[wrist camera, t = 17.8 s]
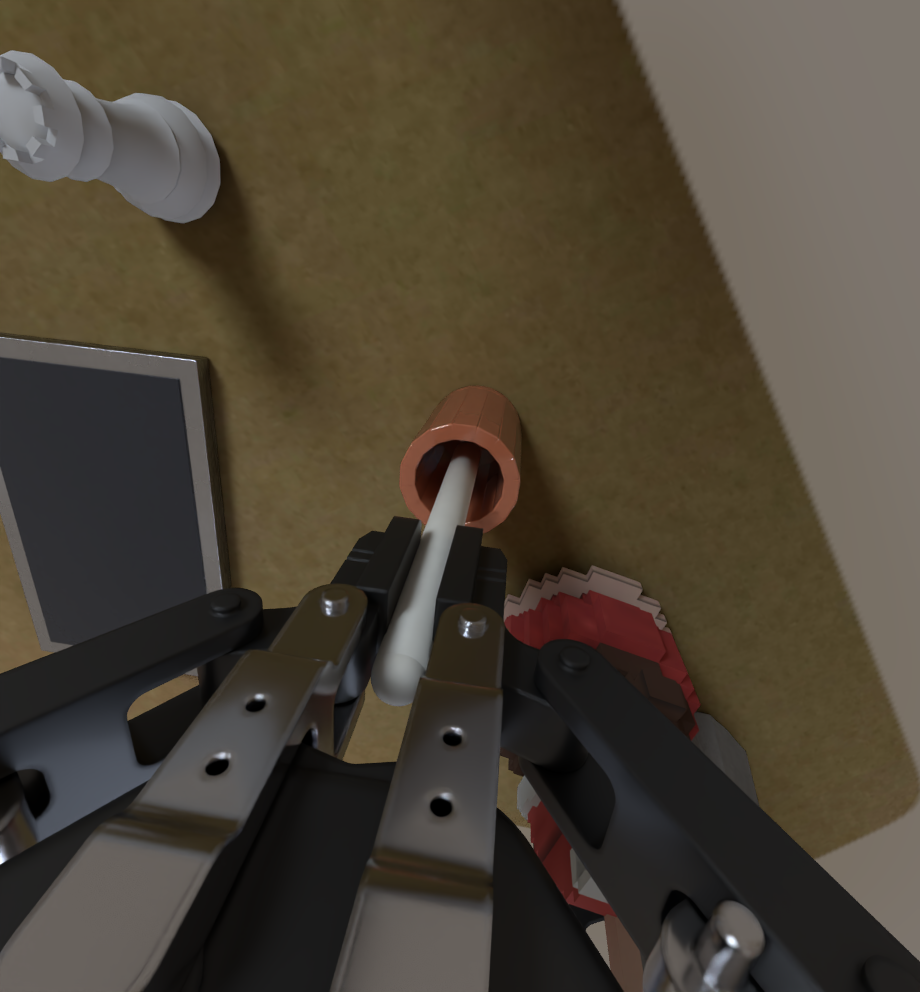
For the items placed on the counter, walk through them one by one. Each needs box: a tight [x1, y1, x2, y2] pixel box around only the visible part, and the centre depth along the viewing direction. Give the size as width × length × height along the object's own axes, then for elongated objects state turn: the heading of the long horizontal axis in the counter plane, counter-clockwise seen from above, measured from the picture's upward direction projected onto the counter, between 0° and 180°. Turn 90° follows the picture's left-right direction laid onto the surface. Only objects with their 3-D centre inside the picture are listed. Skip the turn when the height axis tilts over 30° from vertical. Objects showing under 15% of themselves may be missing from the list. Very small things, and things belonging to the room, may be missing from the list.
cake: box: [500, 565, 701, 992], centre depth 21 cm, size 11×9×18 cm
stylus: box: [371, 441, 481, 706], centre depth 15 cm, size 1×1×13 cm
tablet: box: [0, 333, 232, 676], centre depth 29 cm, size 20×13×1 cm, turn 175°
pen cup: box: [399, 386, 522, 533], centre depth 22 cm, size 4×4×7 cm
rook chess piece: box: [0, 50, 221, 223], centre depth 18 cm, size 4×4×8 cm
